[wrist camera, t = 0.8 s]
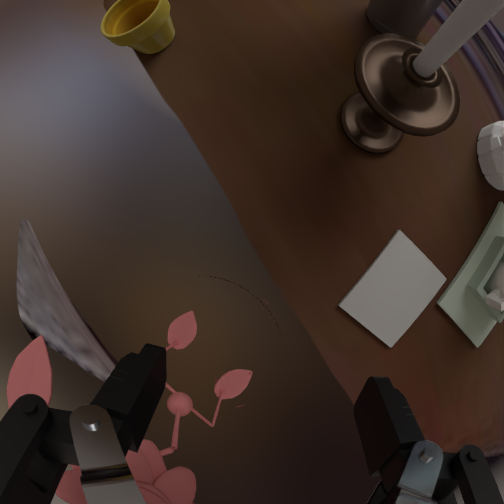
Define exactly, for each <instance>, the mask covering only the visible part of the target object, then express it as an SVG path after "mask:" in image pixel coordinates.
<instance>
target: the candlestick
mask: <svg viewBox="0 0 504 504" xmlns="http://www.w3.org/2000/svg"><path fill="white" fill-rule="evenodd" d="M503 6H504V0H462V2H461V3H460V4H459V5H458V7H457V8H456V9H455V10H454V12H453V13H452V14H451V15H450V17H449V18H448V19H447V20H446V21H445V23H444V24H443V25H442V26H441V28H440V29H439V30H438V31H437V33H436V34H435V35H434V36H433V38H432V39H431V40H430V41H429V42H428V44H427V45H424V44H423V43H421V42H419V41H417V40H415V39H413V38H410V37H408V36H405V35H400V34H394V33H384V34H379V35H375V36H373V37H371V38H369V39H368V40H367V41H365V42H364V43H363V44H362V46H361V48H360V49H359V51H358V53H357V56H356V59H355V63H354V76H355V81H356V84H357V87H358V89H359V92H357V93H354V94H353V95H351V96H350V97H349V98H348V99H347V100H346V102H345V103H344V105H343V107H342V110H341V117H340V119H341V125H342V128H343V131H344V133H345V134H346V136H347V137H348V139H349V140H350V141H351V142H352V143H353V144H354V145H355V146H357V147H358V148H360V149H361V150H364V151H366V152H369V153H374V154H381V153H386V152H388V151H390V150H392V149H393V148H395V147H396V146H397V145H398V144H399V143H400V142H401V140H402V138H403V134H404V133H407V134H410V135H414V136H423V137H425V136H432V135H435V134H438V133H440V132H442V131H444V130H446V129H447V128H448V127H450V126H451V125H452V124H453V122H454V121H455V119H456V118H457V115H458V112H459V106H460V98H459V91H458V88H457V84H456V82H455V79H454V77H453V75H452V73H451V72H450V70H449V68H448V67H447V65H446V64H445V63H444V62H446V61H447V60H448V59H449V58H450V57H451V56H452V55H453V54H454V53H455V52H456V51H457V50H458V49H459V48H460V47H461V46H462V45H463V44H464V43H465V42H466V41H467V40H469V39H470V38H471V37H472V36H473V35H474V34H475V33H476V32H477V31H478V30H479V29H480V28H481V27H482V26H483V25H484V24H485V23H486V22H487V21H488V20H490V19H491V18H492V17H493V16H494V15H495V14H496V13H497V12H498V11H499V10H500V9H501V8H502V7H503Z"/></svg>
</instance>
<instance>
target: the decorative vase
mask: <svg viewBox="0 0 504 504" xmlns="http://www.w3.org/2000/svg"><path fill="white" fill-rule="evenodd" d="M478 140H479V141H478V142H477V155H478V156H479V157H478V161H479V164H480V167H481V170H482V173H483V174H485V176H484V177H485V178H486V180H487V181H488V183H490V184H491V185H492V186H493V187H494V188H496V189H498V190H502V191H504V121H498V122H495V123H493V124H490V125H488V126H486V127H484V128H482V129H481V131H480V133H479V136H478Z"/></svg>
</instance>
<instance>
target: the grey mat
mask: <svg viewBox="0 0 504 504" xmlns="http://www.w3.org/2000/svg"><path fill="white" fill-rule="evenodd" d="M445 281H446V278H445V277H444V275H443V274H442V273H441V272H440V271H439V270H438V269H437V268H436V267H435V266H434V264H433V263H432V262H431V261H430V260H429V259H428V258H427V257H426V256H425V255H424V254H423V253H422V252H421V251H420V250H419V249H418V248H417V247H416V246H415V245H414V244H413V243H412V242H411V241H410V240H409V239H408V238H407V237H406V236H405V235H404V234H403V233H402V232H401V231H400V230H397V232H396V233H395V234H394V236H393V237H392V238H391V240H390V241H389V242H388V244H387V245H386V246H385V248H384V249H383V250H382V252H381V253H380V254H379V255H378V257H377V258H376V259H375V261H374V262H373V263H372V264H371V266H370V267H369V268H368V269H367V271H366V272H365V273H364V274H363V276H362V277H361V278H360V279H359V281H358V282H357V283H356V284H355V285H354V287H353V288H352V289H351V290H350V291H349V293H348V294H347V295H346V296H345V297H344V298H343V300H342V301H341V302H340V303H339V304H338V305H339V306H340V307H341V308H342V309H343V310H345V311H346V312H347V313H348V314H350V315H351V316H352V317H353V318H355V319H356V320H357V321H358V322H360V323H361V324H362V325H363V326H364V327H366V328H367V329H368V330H369V331H371V332H372V333H373V334H374V335H376V336H377V337H378V338H379V339H380V340H382V341H383V342H384V343H385V344H387V345H388V346H389V347H390V348H391V347H392V346H393V345H394V344H395V343H396V342H397V341H398V339H399V338H400V337H401V336H402V335H403V334H404V333H405V332H406V330H407V329H408V328H409V327H410V326H411V325H412V323H413V322H414V321H415V320H416V319H417V317H418V316H419V315H420V314H421V312H422V311H423V310H424V309H425V307H426V306H427V305H428V304H429V302H430V301H431V300H432V298H433V297H434V296H435V294H436V293H437V292H438V290H439V289H440V288H441V286H442V285H443V284H444V282H445Z"/></svg>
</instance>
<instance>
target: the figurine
mask: <svg viewBox="0 0 504 504" xmlns="http://www.w3.org/2000/svg"><path fill="white" fill-rule="evenodd" d="M240 287H241V286H240ZM196 331H197V324H196V320H195V316H194V313H193V311H190V312H187V313H185V314H183V315H181V316H180V317H178V318H176V319H175V320H174V321H173V322H172V323H171V324H170V327H169V329H168V343H169V346H168V347H166V348H165V349H166V351H167V350H169V349H170V348H172V349H173V348H175V350H180V349H184V348H185V347H187V346H188V345H189V344H190V343H191V342H192V341H193V340H194V338H195V336H196ZM252 372H253V371H250V370H242V369H235V370H232V371H228V372H227V373H225V374H224V375H223V376H221V378H220V379H219V380H218V379H215V383H216V384H215V388H214V393H216V396H217V397H219V401H218V404H217V408H216V411H215V414H214V418H213V421H212V424H211V423H210V422H209V421H208V420H207V419H205V418H204V417H203V416H202V415H201V414H199V413H198V412H197V411H196V410H195V409H194V408H193V403H192V400H191V398H190V397H189V396H188V395H186V394H185V393H183V392H176V391H175V390H174V389H172V388H171V387H170V386H169V385H168V384H167V383H166V385H165V386H166V387H167V388H168V389H169V390H170V391H171V392H172V393H173V394H172V395H171V396H170V397H169V399H168V401H167V405H168V409H169V410H170V411H171V412H172V413H173V414H174V415H176V419H175V424H174V430H173V437H172V444H171V447H169V448H166V449H164V450H161V451H159V450H158V448H157V446H156V445H155V444H154V443H153V442H152V441H150V440H145V439H143V441H142V443H141V445H140V448H139V450H138V453H136V452H133V451H130V450H128V452H127V455H126V457H125V459H126V461H127V464H128V466H129V468H130V470H131V473H132V475H133V477H134V479H135V481H136V484H137V486H138V488H139V490H140V492H141V494H142V496H143V498H144V500H145V502H146V504H195V503H192V502H193V500H194V496H195V492H196V478H195V476H194V473H193V472H192V471H191V470H189V469H188V468H185V467H181V466H178V467H175V468H173V469H171V470H168V471H167V470H166V467H165V464H164V461H163V458H162V456H164V455H167V454H170V453H173V450H176V449H177V443H178V431H179V430H178V429H179V418H180V416H185V415H187V414H188V413H189V412H190V411H192V412H194V413H195V414H196V415H197V416H199V417H200V418H201V419H202V420H204V421H205V422H206V423H207V424H208V425H210V426H211V427H213V426H214V424H215V421H216V417H217V414H218V410H219V407H220V403H221V400H222V399H228V398H234V397H235V396H237V395H239V394H240V393H241V392H242V391H243V390H244V389H245V388H246V387H247V385H248V383H249V381H250V379H251V376H252ZM250 373H251V374H250ZM249 374H250V375H249ZM52 378H53V371H52V367H51V363H50V359H49V355H48V350H47V347H46V344H45V341H44V338H43V336H42V335H40V336H39V337H38V338H36V339H35V340H34V341H32V342H31V343H30V344H29V345H28V346H27V347H26V348H25V349H24V350H23V351H22V352H21V353H20V354H19V355H18V356H17V358H16V360H15V362H14V365H13V367H12V369H11V371H10V373H9V379H8V387H7V397H8V405H9V409H10V407H11V406H12V405H13V403H14V402H15V401H16V400H17V399H18V398H19V397H20V396H22V395H25V394H35V395H38V396H40V397H42V398H43V399H44V400H45V401H46V403H47V405H48V407H49V405H50V401H51V397H52ZM70 465H71V464H70ZM71 466H72V468H73V470H69V471H66V472H64V474H63V476H62V478H61V481H60V483H59V485H58V487H57V490H56V492H55V493H56V495H57V496H58V497H60V498H61V499H63V500H64V501H66V502H67V503H69V504H88V503H87V501H86V498H85V495H84V492H83V489H82V485H81V481H80V476H82V474H81V469H80V466H76V465H71Z"/></svg>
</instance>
